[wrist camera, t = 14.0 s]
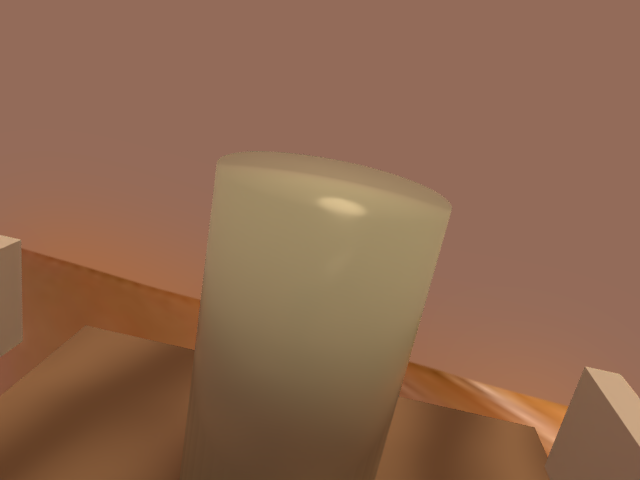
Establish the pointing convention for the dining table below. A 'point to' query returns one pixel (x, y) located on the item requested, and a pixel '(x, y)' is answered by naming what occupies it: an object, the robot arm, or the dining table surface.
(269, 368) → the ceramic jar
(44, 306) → the dining table surface
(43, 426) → the walnut board
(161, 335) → the dining table surface
